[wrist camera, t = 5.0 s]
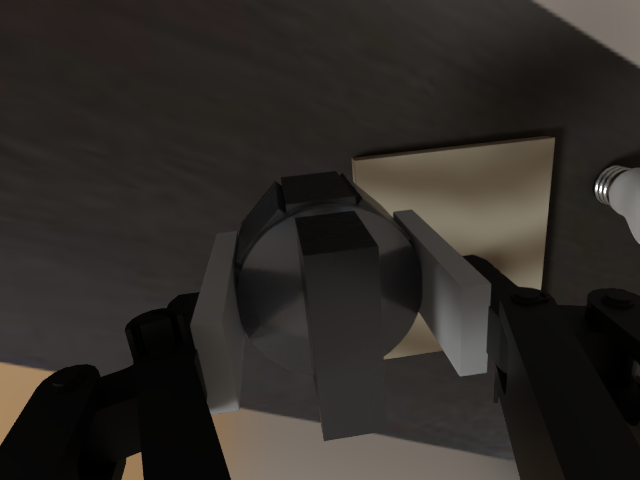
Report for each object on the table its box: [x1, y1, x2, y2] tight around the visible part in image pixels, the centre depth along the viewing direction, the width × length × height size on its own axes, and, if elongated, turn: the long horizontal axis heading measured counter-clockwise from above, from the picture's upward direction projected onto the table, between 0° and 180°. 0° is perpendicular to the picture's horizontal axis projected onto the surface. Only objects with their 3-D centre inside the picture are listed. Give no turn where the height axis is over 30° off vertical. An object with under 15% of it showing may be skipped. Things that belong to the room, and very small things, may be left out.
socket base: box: [352, 136, 555, 359], centre depth 32 cm, size 16×14×4 cm
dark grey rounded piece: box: [234, 171, 422, 441], centre depth 15 cm, size 6×6×8 cm
